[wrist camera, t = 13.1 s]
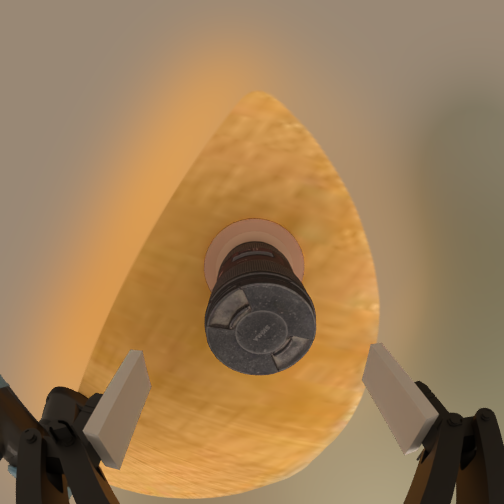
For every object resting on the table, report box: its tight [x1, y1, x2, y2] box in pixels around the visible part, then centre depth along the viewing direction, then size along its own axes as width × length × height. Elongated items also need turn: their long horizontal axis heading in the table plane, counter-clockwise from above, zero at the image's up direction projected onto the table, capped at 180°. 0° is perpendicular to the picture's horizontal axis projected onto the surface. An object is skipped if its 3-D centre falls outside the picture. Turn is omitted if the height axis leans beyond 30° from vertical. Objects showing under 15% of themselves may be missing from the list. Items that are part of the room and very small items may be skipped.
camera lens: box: [205, 241, 316, 375], centre depth 25 cm, size 8×8×15 cm
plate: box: [204, 219, 304, 292], centre depth 33 cm, size 12×12×1 cm
